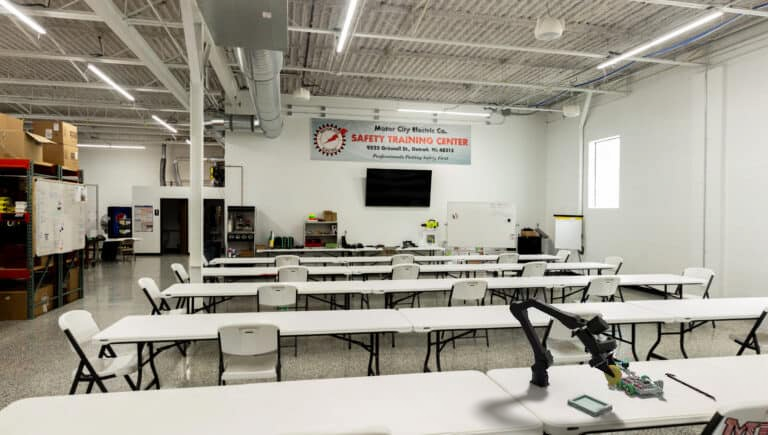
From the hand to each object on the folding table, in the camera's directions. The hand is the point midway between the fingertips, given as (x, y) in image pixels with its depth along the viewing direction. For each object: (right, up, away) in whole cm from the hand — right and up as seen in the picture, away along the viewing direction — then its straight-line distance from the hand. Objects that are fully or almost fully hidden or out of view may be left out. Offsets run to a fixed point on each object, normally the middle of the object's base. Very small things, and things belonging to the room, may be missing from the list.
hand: (616, 374), depth 167 cm
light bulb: (-1, -7, +1) cm, 7 cm away
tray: (-11, -13, 0) cm, 17 cm away
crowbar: (+47, -15, +22) cm, 54 cm away
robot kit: (+19, -14, +23) cm, 33 cm away
